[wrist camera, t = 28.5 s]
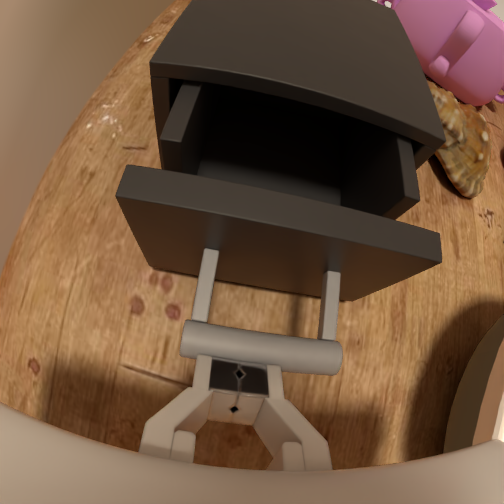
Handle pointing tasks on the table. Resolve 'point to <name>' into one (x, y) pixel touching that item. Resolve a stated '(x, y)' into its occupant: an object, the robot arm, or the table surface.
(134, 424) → the table surface
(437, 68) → the teapot
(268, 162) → the basket drawer
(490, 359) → the bowl
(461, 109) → the seashell
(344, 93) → the air fryer
